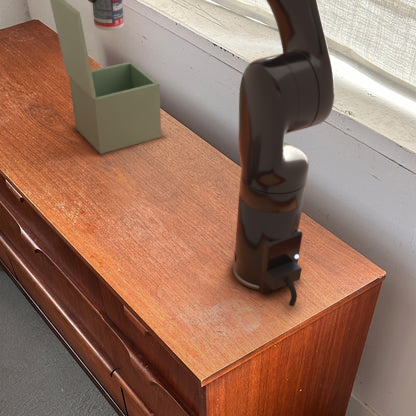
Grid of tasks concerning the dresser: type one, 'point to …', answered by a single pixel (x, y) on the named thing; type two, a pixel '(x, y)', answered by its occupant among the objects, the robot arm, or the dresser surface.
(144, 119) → the chest
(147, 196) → the dresser surface
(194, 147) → the dresser surface
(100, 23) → the pill bottle
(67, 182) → the dresser surface
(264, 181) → the robot arm
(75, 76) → the lid
